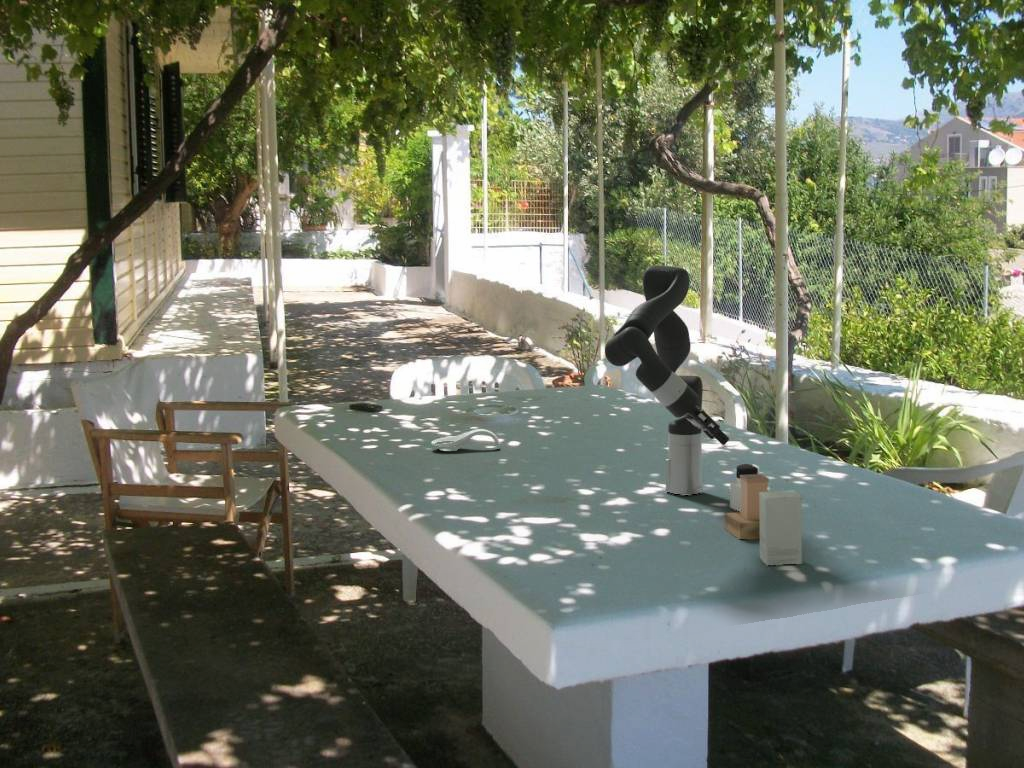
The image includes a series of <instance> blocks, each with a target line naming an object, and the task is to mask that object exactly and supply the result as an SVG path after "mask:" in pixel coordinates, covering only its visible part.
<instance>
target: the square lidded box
mask: <svg viewBox="0 0 1024 768" xmlns="http://www.w3.org/2000/svg"><path fill="white" fill-rule="evenodd" d="M740 479H741V516H742V517H744V518H745V519H747V520H757V519H760V514H759V492H769V491H768V490H769V489H768V487H769V485H768V482H769V481H770V479H769V477H767V476H765V474H762V473H760V474H751V475H740Z"/></svg>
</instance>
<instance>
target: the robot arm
mask: <svg viewBox="0 0 1024 768" xmlns="http://www.w3.org/2000/svg"><path fill="white" fill-rule="evenodd" d="M642 288H643V289H642V290H643V294H644V295H643V296H644V299H645V301H644V302H642V303H640V304H639V305H637V306H636V307H635V308H634V309H633V310H632V311H631V312H630V314H629V315H628V317H627V318H626V320H625V322H624V323H623V324H622V326H621V327H620V328H618V330H617V331H615V333H613V334H612V335H611V336H610V338H609V339H608V340H607V342H606V344H605V347H604V355H605V357H606V360H607V361H608V362H609V364H611V365H613V366H615V367H624V366H627V365H628V364H629V363H631V362H633V361H634V360H635V359H637V358H638V359H639V360H640V365H638V367H637V368H636V370H635V376H636V378H637V380H638V381H639V382H640V383H641V384H642V385H643V386H644V387H645V388H646V389H647V390H649V391H650V393H652V395H653V396H654V398H655V399H656V400H657V401H658V402H659V403H660V404H662V406H663V407H665V408H666V410H667V411H668V412H669V413H671V415H672V416H673V417H675V418H677V419H674V420H672V421H670V422H669V423H668V427H667V430H668V458H667V459H665V492H666V491H669V492H671V493H675V494H690V495H689V496H693V495H692V494H697V495H699V494H698V493H700V494H702V487H703V486H702V473H703V472H702V469H703V468H702V467H703V466H702V449H703V448H702V446H703V445H702V433H704V434H705V435H706V436H707V437H708V438H709V439H711V440H713V439H714V438H715V439H716V441H718V442H719V443H720V444H721V445H723V446H724V445H726V444H727V443H728V442H729V440H730V437H728V435H726V433H724V432H723V430H722V429H720V428H721V427H720V424H718V423H717V422H715V420H714V419H713V418H712V417H711V416H710V415H709V414H708V413H706V411H705V410H704V409H703V407H702V406H703V390H704V389H703V381H702V379H701V377H700V376H698V375H678V374H677V373H676V372H677V370H678V369H679V368H680V367H681V365H682V364H684V362H685V361H686V359H687V358H688V356H689V354H690V352H691V345H692V344H691V338H690V332H689V329H688V326H687V324H686V323H685V322H684V320H683V319H682V318H681V317H680V315H679V314H677V313H676V311H675V309H676V308H677V307H679V306H680V305H681V304H682V303H683V301H685V299H686V298H687V295H688V293H689V289H690V275H689V273H688V271H687V270H686V269H685V268H682V267H678V266H677V267H676V266H670V265H669V266H668V265H661V264H660V265H659V264H653V265H649V266H648V267H647V268H646V269H645V271H644V273H643V277H642ZM652 334H653V335H652ZM652 336H653V337H654V338H653V339H654V343H655V348H654V347H653V345H652V343H651V341H650V338H651V337H652ZM655 349H656V350H655ZM711 425H712V426H711ZM671 493H670V494H671Z"/></svg>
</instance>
